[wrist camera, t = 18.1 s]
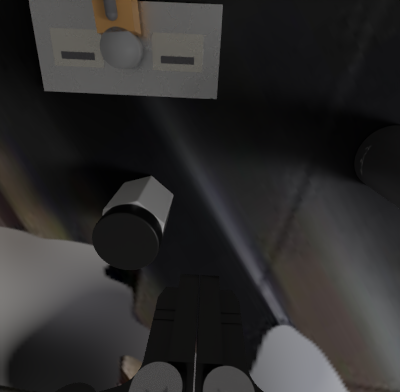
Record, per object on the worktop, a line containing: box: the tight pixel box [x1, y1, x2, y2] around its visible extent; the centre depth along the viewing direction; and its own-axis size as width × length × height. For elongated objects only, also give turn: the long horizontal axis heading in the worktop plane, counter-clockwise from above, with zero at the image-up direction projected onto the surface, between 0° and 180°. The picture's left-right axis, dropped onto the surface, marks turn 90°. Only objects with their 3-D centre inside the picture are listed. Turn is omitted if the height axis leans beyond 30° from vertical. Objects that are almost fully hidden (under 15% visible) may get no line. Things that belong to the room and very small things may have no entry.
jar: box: [92, 176, 173, 270], centre depth 38 cm, size 9×8×12 cm
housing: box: [29, 0, 223, 99], centre depth 34 cm, size 22×10×3 cm, turn 88°
